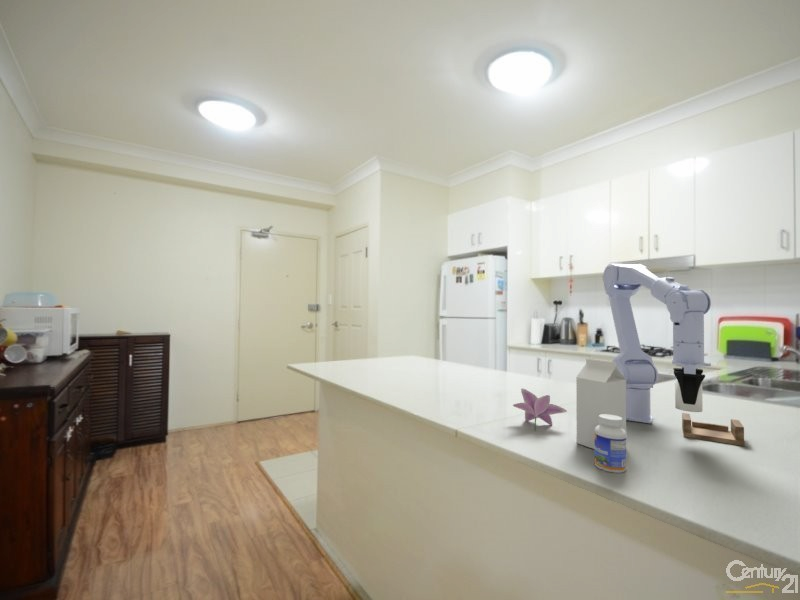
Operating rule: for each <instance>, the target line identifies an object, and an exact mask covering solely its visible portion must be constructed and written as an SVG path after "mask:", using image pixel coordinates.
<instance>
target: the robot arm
mask: <svg viewBox="0 0 800 600" xmlns="http://www.w3.org/2000/svg"><path fill="white" fill-rule="evenodd" d="M602 282H603V286H604V291H605V294H606V295H607V296H608V300H609V305H610V308H611V313H612V314H611V315H612V319H613V324H614V328H615V332H616V336H617V342H618V348H619V353H618V354H617V355H616V356H615V357H614V358H613V359H612V362H616V368H617V369H618V370H619V372H620V373H621V374H622V375H623V377H624V378H625V379H626V421H629V422H630V421H631V422H636V423H645V424H650V425H651V424H653V418H654V417H653V415H652V414H651V389H653V388H654V385H655V384H656V383H657V382H658V380H659V371H658V368H657V367H656V365H655V363H654V362H653V358H652V356H651V355H649V354H648V353H646V352H644V351H643V350H642V347H641V343H640V337H639V333H638V328H637V325H636V320H635V316H634V311H633V308H632V304H631V298H632V297H633V296H634V295H636V294H637V292H639V290H640V289H641V287H642V286H643V287H644V288H646V289H648V290H650V294H651V296H652V297H654V298H655V299H656V300H658V301H660V302H661V303H663V304H665V305H666V309H667V311H668V313H669V319H670V321H671V322H672V333H673V334H672V344H673V345H672V349H673V350H672V356H673V357H672V360H671V363H672V365H675V366H677V367H673V369H672V370H673V375H674V377H675V378H676V381H678V383H679V386H680V390H681V396H682V400H683V403H684V404H692V405H695V403H696V400H697V395H698V391H699V387H700V385H701V384H702V383H703V381H704V380H705V377H706V374H703V372H704V370H703V369H702V368H703V367H711V366H712V363H711V362H707V361H705V315H706V314H707V313H708V312H709V310H710V309H711V306H712V302H711V297H710V295H709V294H708V293H707V292H705V290H703V289H695V290H692V289H690V288H689V286H688V285H687V284H681V283H679V282H677V281H676V278H675V277H672V276H666V277H664V276H663V277H659V276H657V275H656V274H654V273H652V272H651V271H650V270H648V267H647V265H646V266H645V265H643V264H641V263H637V264H615V263H609V264H607V266H606V267H605V268H604V271H603V274H602Z"/></svg>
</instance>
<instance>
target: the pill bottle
mask: <svg viewBox="0 0 800 600" xmlns="http://www.w3.org/2000/svg"><path fill="white" fill-rule="evenodd" d="M599 423H600V425H598V426H596V427H595V449H594V456H593V457H594V458H593V459H594V465H595V467H597V468H598V469H599V470H601V471H604V472H607V473H617V474H618V473H619V474H620V473H621V474H622V473H624V472H626V470H627V431H626V432H625V430H624V429H622V428H621V426H622V425H623V421H622V418H621V417H619V416H616V415H610V414H601V415H599Z"/></svg>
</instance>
